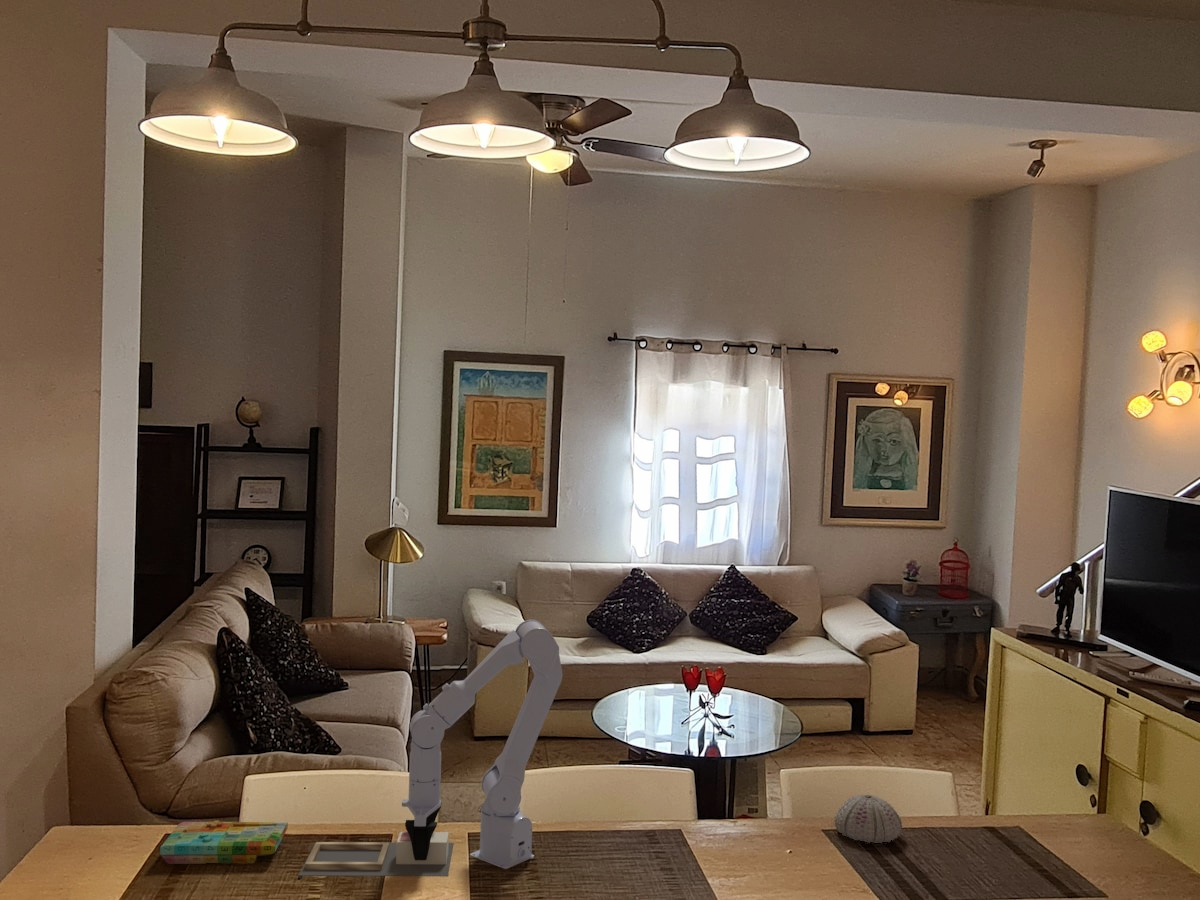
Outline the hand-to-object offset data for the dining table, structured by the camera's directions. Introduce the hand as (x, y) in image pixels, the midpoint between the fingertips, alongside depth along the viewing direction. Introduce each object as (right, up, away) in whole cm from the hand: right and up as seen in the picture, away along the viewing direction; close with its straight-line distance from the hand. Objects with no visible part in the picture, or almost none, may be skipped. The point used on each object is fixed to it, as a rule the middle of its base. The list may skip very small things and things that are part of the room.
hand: (422, 851), depth 194 cm
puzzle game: (-37, -1, +1) cm, 37 cm away
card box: (0, -1, 0) cm, 1 cm away
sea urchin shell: (+87, -5, +20) cm, 89 cm away
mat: (-8, -2, -1) cm, 8 cm away
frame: (-13, -2, -1) cm, 14 cm away
